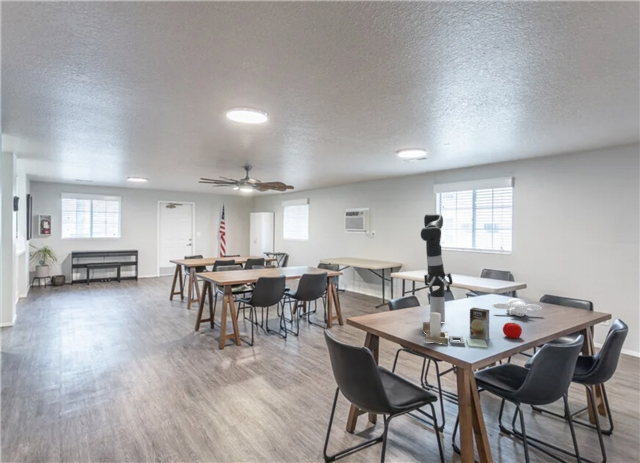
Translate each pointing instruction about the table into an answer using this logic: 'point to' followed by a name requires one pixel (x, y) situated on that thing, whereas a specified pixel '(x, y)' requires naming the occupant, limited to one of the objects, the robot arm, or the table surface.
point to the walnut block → (426, 326)
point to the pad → (477, 343)
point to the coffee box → (479, 323)
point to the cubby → (437, 338)
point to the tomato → (512, 330)
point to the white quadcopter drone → (517, 307)
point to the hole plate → (456, 341)
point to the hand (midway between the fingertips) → (440, 292)
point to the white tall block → (435, 324)
